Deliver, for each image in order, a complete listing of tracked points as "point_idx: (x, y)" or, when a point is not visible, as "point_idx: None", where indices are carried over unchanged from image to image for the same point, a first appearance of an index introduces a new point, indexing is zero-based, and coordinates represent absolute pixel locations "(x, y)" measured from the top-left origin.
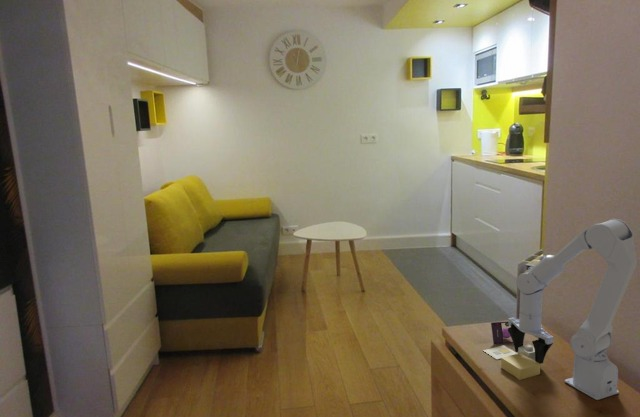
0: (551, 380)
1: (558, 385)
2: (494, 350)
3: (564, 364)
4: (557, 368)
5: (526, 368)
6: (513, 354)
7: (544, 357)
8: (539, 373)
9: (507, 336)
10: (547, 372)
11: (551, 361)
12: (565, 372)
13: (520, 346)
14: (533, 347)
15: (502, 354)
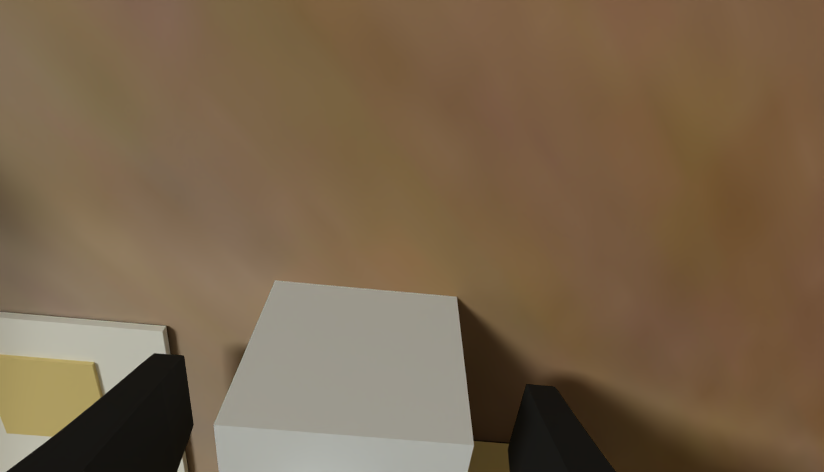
0: (732, 452)
1: (816, 467)
2: (13, 458)
3: (703, 40)
4: (676, 226)
5: None
6: None
7: (596, 448)
8: None
9: None
10: (633, 378)
11: (522, 129)
12: (795, 229)
13: (151, 440)
14: (336, 442)
15: None
